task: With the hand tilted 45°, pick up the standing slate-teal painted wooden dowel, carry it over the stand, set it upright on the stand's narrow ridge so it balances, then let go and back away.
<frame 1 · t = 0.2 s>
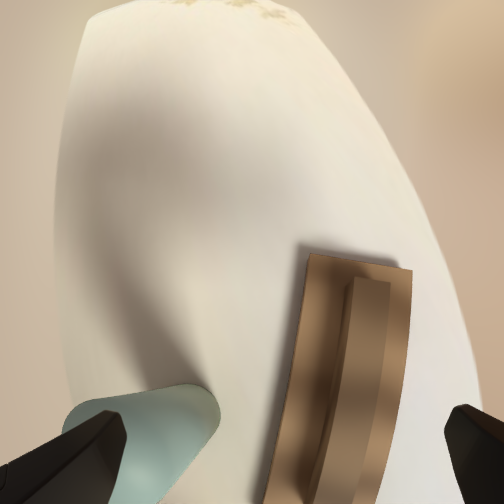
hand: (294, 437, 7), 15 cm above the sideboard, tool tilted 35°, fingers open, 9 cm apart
dowel: (189, 413, 20), on the sideboard
ridge stand: (340, 400, 20), on the sideboard
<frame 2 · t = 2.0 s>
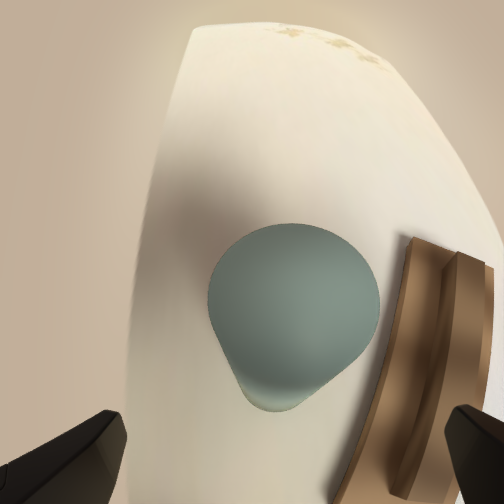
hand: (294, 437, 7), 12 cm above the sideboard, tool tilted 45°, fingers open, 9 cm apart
dowel: (276, 377, 19), on the sideboard
ridge stand: (432, 381, 18), on the sideboard
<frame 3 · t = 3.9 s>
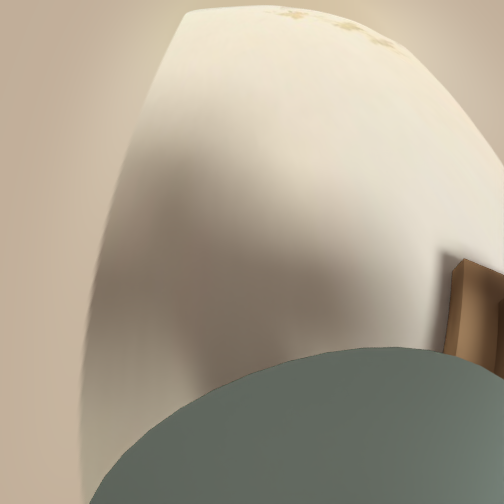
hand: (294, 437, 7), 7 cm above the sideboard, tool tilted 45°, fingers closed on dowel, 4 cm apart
dowel: (279, 462, 12), on the sideboard, touching gripper
ridge stand: (479, 449, 11), on the sideboard
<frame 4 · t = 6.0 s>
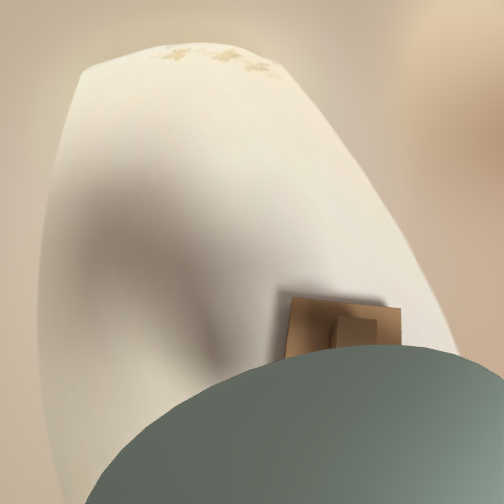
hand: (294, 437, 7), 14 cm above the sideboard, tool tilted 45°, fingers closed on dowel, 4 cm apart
dowel: (278, 462, 12), point 7 cm above the sideboard, touching gripper
ridge stand: (331, 447, 17), on the sideboard
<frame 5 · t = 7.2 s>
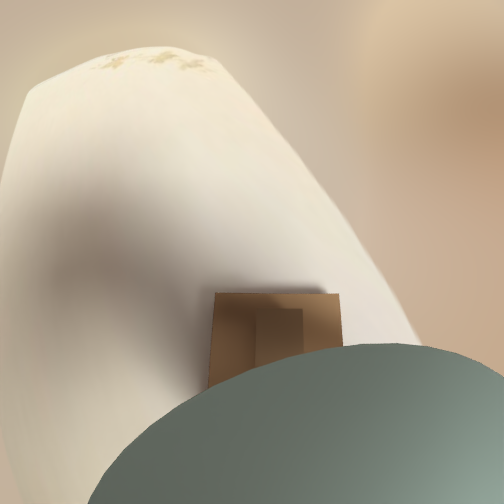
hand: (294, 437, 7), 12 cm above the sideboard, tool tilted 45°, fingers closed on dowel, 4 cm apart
dowel: (279, 461, 12), point 5 cm above the sideboard, touching gripper
ridge stand: (274, 451, 16), on the sideboard
when the fingers open (12 cm above the sideboard, at t = 8.3 s): dowel drops 1 cm, resting on ridge stand.
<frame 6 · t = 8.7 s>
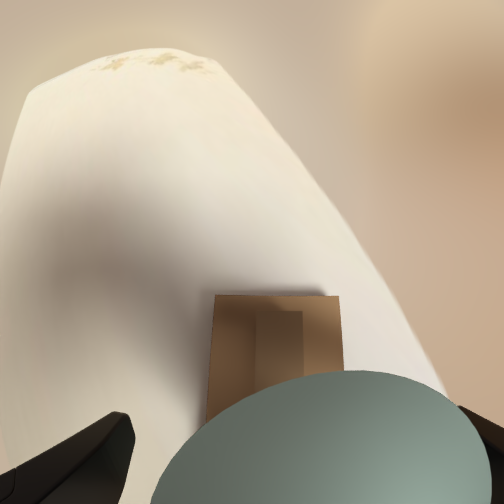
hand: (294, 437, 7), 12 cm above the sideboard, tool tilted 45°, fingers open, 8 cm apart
dowel: (277, 460, 13), point 4 cm above the sideboard, touching ridge stand
ridge stand: (274, 453, 16), on the sideboard
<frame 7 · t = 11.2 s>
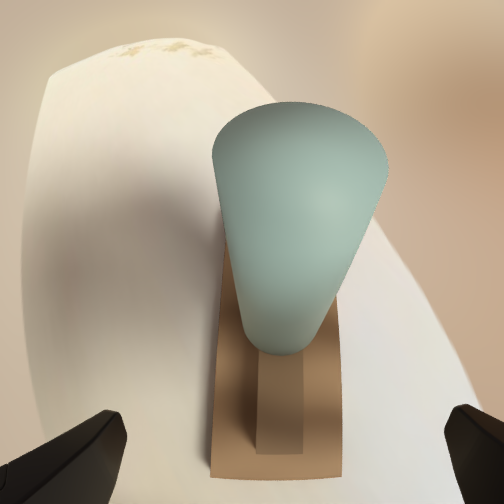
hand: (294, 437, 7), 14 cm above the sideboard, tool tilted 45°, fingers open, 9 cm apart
dowel: (280, 318, 18), point 4 cm above the sideboard, touching ridge stand
ridge stand: (278, 336, 22), on the sideboard
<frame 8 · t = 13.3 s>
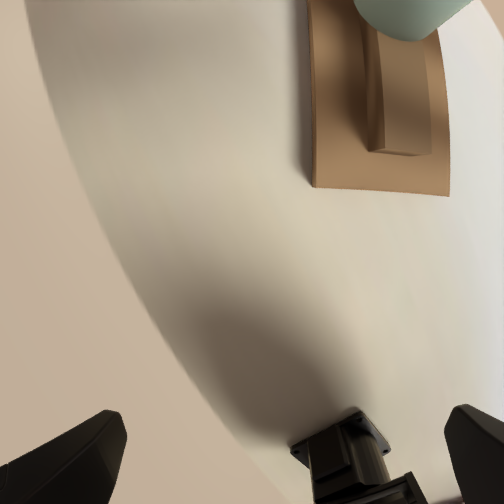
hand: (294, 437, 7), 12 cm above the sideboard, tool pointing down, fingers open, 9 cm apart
dowel: (394, 5, 11), point 4 cm above the sideboard, touching ridge stand
ridge stand: (372, 33, 15), on the sideboard
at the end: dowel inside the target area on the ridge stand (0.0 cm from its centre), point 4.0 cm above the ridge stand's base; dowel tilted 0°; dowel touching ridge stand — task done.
